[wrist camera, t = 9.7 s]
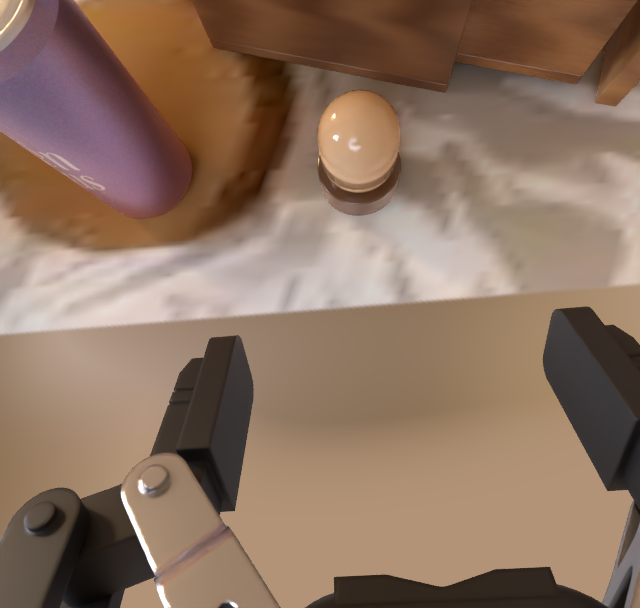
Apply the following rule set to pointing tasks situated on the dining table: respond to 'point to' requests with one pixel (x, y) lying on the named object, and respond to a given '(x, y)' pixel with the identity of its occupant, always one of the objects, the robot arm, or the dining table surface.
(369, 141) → the egg
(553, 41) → the drawer
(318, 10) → the cabinet
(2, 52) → the beverage can
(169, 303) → the dining table surface
